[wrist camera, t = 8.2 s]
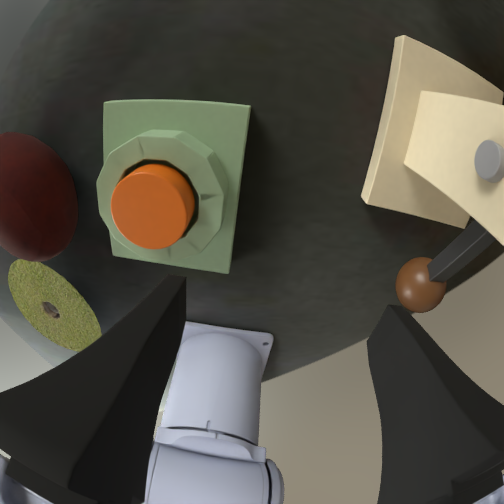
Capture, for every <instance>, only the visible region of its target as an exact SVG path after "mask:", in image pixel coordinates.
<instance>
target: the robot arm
mask: <svg viewBox="0 0 504 504" xmlns="http://www.w3.org/2000/svg"><path fill="white" fill-rule="evenodd" d="M265 342H267V343H265ZM272 343H273V335H272V334H270V333H263V332H255V331H247V330H240V329H232V328H225V327H219V326H212V325H206V324H200V323H194V322H188V321H186V277H183V276H177V275H171V274H168V275H167V276H165V277H164V278H163V279H162V280H161V281H160V283H159V284H158V285H157V286H156V287H155V288H154V289H153V290H152V291H151V292H150V293H149V294H148V295H147V296H146V297H145V298H144V299H143V300H142V301H141V302H139V303H138V304H137V305H136V306H135V307H134V308H133V309H132V310H131V311H130V312H129V313H128V314H127V315H126V316H125V317H123V318H122V319H121V320H120V321H119V322H118V323H116V324H115V325H114V326H113V327H112V328H111V329H109V330H108V331H107V332H106V333H105V334H103V335H102V336H101V337H100V338H98V339H97V340H96V341H94V342H93V343H92V344H90V345H89V346H87V347H86V348H85V349H83V350H82V351H80V352H79V353H77V354H76V355H74V356H73V357H71V358H70V359H68V360H67V361H65V362H63V363H62V364H60V365H58V366H57V367H55V368H53V369H51V370H49V371H47V372H45V373H44V374H42V375H40V376H38V377H36V378H34V379H32V380H30V381H28V382H26V383H23V384H21V385H19V386H16V387H14V388H11V389H9V390H6V391H3V392H1V393H0V449H1V450H3V451H4V452H6V453H7V454H9V455H10V456H11V458H10V459H8V458H6V457H4V456H2V455H1V454H0V504H283V501H284V482H283V477H282V474H281V472H280V471H279V469H278V468H277V466H276V464H275V463H274V462H273V461H272V460H270V459H266V448H265V447H259V446H258V435H259V413H260V393H261V379H262V376H263V373H264V369H265V366H266V363H267V360H268V357H269V353H270V350H271V347H272ZM367 349H368V359H369V367H370V371H371V375H372V380H373V384H374V389H375V393H376V398H377V403H378V408H379V412H380V419H381V427H382V474H381V485H380V491H379V497H378V503H377V504H504V474H503V475H502V472H501V471H502V470H503V469H504V405H502V404H501V403H500V402H498V401H497V400H495V399H494V398H493V397H491V396H490V395H489V394H487V393H486V392H485V391H484V390H483V389H481V388H480V387H479V386H478V385H477V384H476V383H474V382H473V381H472V380H471V379H470V378H469V377H468V376H467V375H466V374H465V373H464V372H463V371H462V370H461V369H460V368H459V367H458V366H457V365H456V364H455V363H454V362H453V361H452V360H451V359H450V358H449V357H448V356H447V355H446V354H445V352H444V351H443V350H442V349H441V348H440V347H439V346H438V345H437V344H436V342H435V341H434V340H433V339H432V338H431V337H430V336H429V334H428V333H427V332H426V331H425V330H424V329H423V328H422V327H421V325H420V324H419V323H418V322H417V321H416V320H415V319H414V318H413V317H412V316H411V315H410V314H409V313H408V312H407V311H406V310H405V309H404V308H403V307H402V306H397V305H388V306H387V308H386V310H385V312H384V313H383V315H382V317H381V319H380V320H379V322H378V324H377V325H376V327H375V329H374V330H373V332H372V334H371V335H370V337H369V339H368V340H367ZM176 356H177V364H176V367H175V371H174V375H173V378H172V382H171V386H170V390H169V393H168V397H167V401H166V405H165V409H164V413H163V417H162V421H161V425H160V426H158V428H157V432H156V436H155V440H154V441H153V439H154V438H153V435H154V429H155V425H156V420H157V415H158V411H159V406H160V403H161V399H162V396H163V393H164V390H165V387H166V385H167V382H168V379H169V376H170V373H171V370H172V367H173V365H174V362H175V359H176Z"/></svg>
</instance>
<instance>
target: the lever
mask: <svg viewBox="0 0 504 504" xmlns="http://www.w3.org/2000/svg"><path fill="white" fill-rule="evenodd" d="M495 240H496V238H495V237H494V236H492V235H491V234H490V233H489V232H488V231H487V230H486V229H485V228H484V227H483V226H482V225H481V224H480V223H479V222H477V221H476V220H474V221H473V222H472V223H471V224H470V225H469V226H468V227H467V228H466V229H465V230H464V231H463V232H462V233H461V234H460V235H459V236H458V237H457V238H456V239H455V240H454V241H452V242H451V243H450V244H449V245H448V246H447V247H446V248H445V249H444V250H443V251H442V252H441V253H440V254H439V255H437V256H436V257H435V258H434V259H433V260H432V259H429V258H425V257H418V258H414V259H412V260H410V261H408V262H407V263H406V264H404V265H403V267H402V268H401V269H400V271H399V273H398V275H397V278H396V294H397V297H398V299H399V301H400V302H401V304H402V305H403V306H404V307H405V308H407V309H408V310H410V311H413V312H417V313H424V312H428V311H430V310H432V309H434V308H435V307H436V306H437V305H438V304H439V303H440V302H441V301H442V299H443V297H444V295H445V291H446V280H448V279H449V278H450V277H452V276H453V275H454V274H456V273H457V272H458V271H459V270H461V269H462V268H463V267H464V266H466V265H467V264H468V263H469V262H471V261H472V260H473V259H474V258H475V257H477V256H478V255H479V254H480V253H481V252H483V251H484V250H485V249H486V248H487V247H488V246H489V245H491V244H492V243H493V242H494V241H495Z"/></svg>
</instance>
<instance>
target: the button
mask: <svg viewBox="0 0 504 504" xmlns="http://www.w3.org/2000/svg"><path fill="white" fill-rule="evenodd" d="M194 208H195V200H194V195H193V191H192V189H191V187H190V185H189V183H188V181H187V180H186V179H185V178H184V177H183V176H182V175H181V174H180V173H179V172H178V171H176V170H175V169H173V168H171V167H169V166H166V165H163V164H147V165H143V166H141V167H139V168H137V169H136V170H134V171H133V172H131V173H130V174H129V175H127V176H126V177H125V178H123V179H122V180H121V181H120V182H119V183H118V184H117V186H116V187H115V189H114V191H113V194H112V198H111V214H112V217H113V220H114V223H115V225H116V227H117V228H118V230H119V231H120V232H121V234H122V235H123V236H124V237H125V238H126V239H128V240H129V241H130V242H132V243H133V244H135V245H137V246H140V247H143V248H146V249H163V248H166V247H169V246H171V245H173V244H174V243H176V242H177V241H178V240H179V239H180V238H181V237H182V235H183V233H184V232H185V230H186V228H187V226H188V224H189V222H190V220H191V218H192V216H193V213H194Z"/></svg>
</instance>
